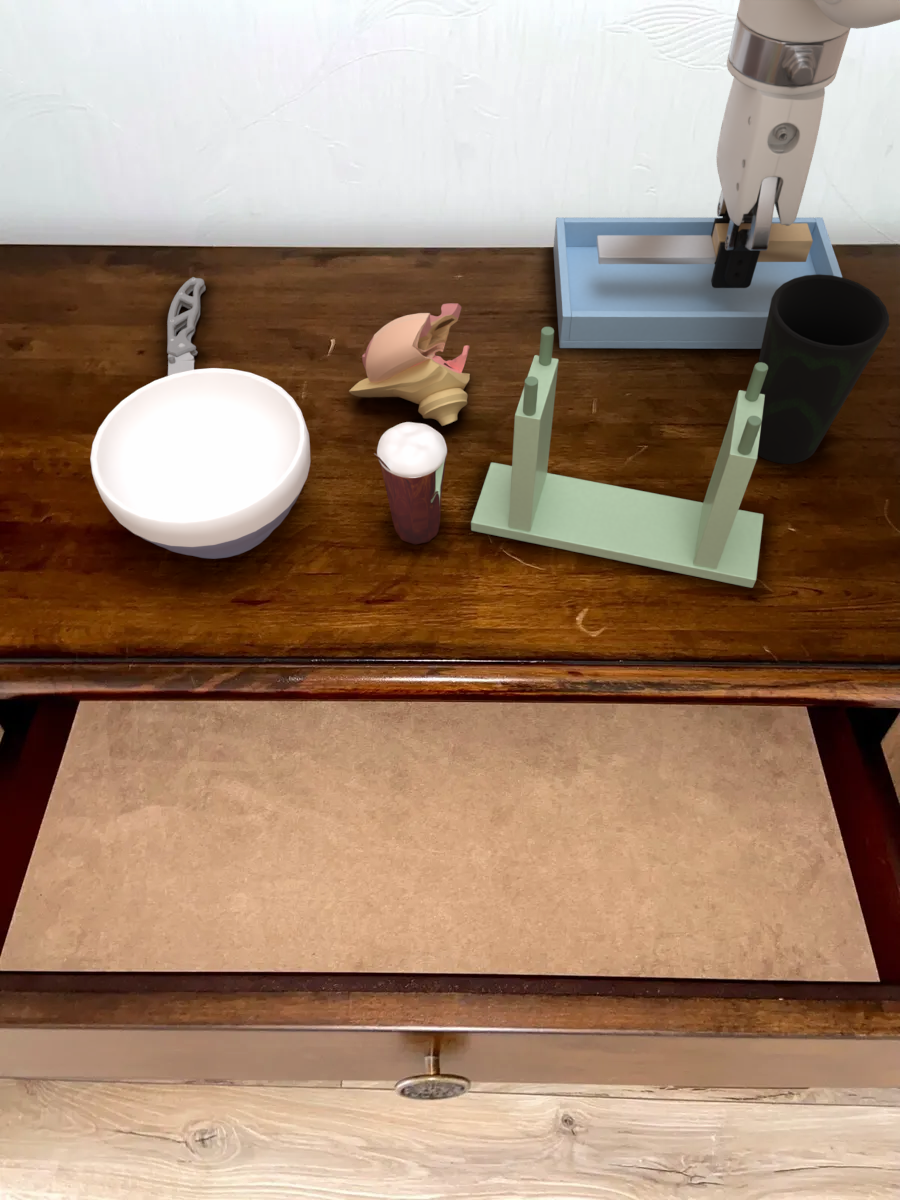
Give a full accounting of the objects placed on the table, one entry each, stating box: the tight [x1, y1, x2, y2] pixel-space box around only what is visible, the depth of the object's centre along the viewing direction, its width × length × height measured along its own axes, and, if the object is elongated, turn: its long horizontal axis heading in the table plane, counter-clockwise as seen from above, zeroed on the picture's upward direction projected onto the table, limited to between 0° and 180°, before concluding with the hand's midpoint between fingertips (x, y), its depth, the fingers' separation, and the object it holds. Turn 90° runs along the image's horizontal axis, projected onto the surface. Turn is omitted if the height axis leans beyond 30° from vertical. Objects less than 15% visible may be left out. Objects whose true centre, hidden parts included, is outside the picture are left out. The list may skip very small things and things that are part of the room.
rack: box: [470, 326, 768, 589], centre depth 62 cm, size 20×6×14 cm, turn 75°
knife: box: [166, 276, 207, 376], centre depth 79 cm, size 2×18×3 cm
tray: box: [552, 216, 844, 350], centre depth 81 cm, size 23×13×3 cm, turn 89°
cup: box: [757, 274, 890, 465], centre depth 68 cm, size 8×8×12 cm
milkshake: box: [373, 421, 448, 545], centre depth 64 cm, size 4×5×10 cm
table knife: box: [596, 223, 813, 264], centre depth 78 cm, size 17×3×2 cm, turn 89°
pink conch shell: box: [348, 302, 471, 427], centre depth 73 cm, size 9×10×10 cm
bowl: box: [89, 367, 312, 560], centre depth 66 cm, size 14×14×8 cm
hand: (727, 272), depth 80 cm, fingers closed on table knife, 2 cm apart
